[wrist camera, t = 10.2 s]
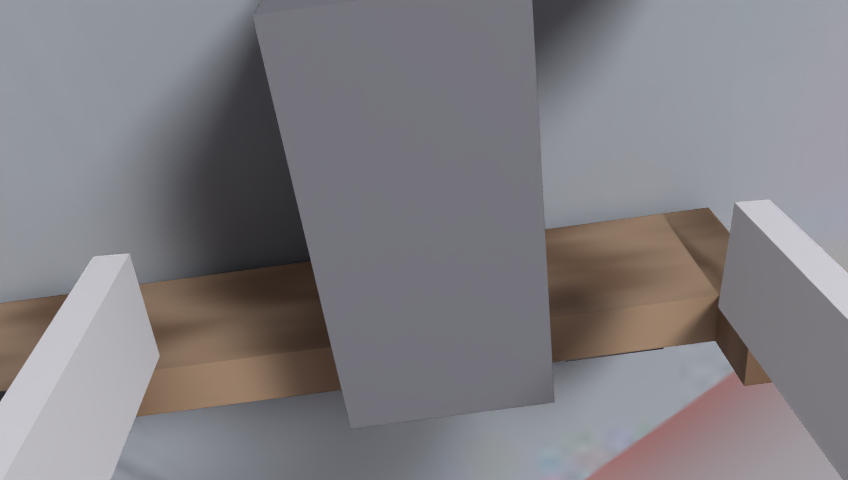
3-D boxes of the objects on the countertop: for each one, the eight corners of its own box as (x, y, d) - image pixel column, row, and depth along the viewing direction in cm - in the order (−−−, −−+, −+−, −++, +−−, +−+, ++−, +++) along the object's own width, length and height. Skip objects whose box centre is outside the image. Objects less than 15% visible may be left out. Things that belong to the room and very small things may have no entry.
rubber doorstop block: (360, 246, 26) (351, 428, 18) (300, -57, 21) (252, 15, 13) (502, 226, 26) (554, 402, 18) (476, -82, 21) (530, -25, 13)
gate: (-47, 367, 27) (-172, 526, 21) (-80, 309, 26) (-224, 459, 20) (704, 267, 26) (800, 400, 20) (708, 202, 25) (812, 323, 19)
